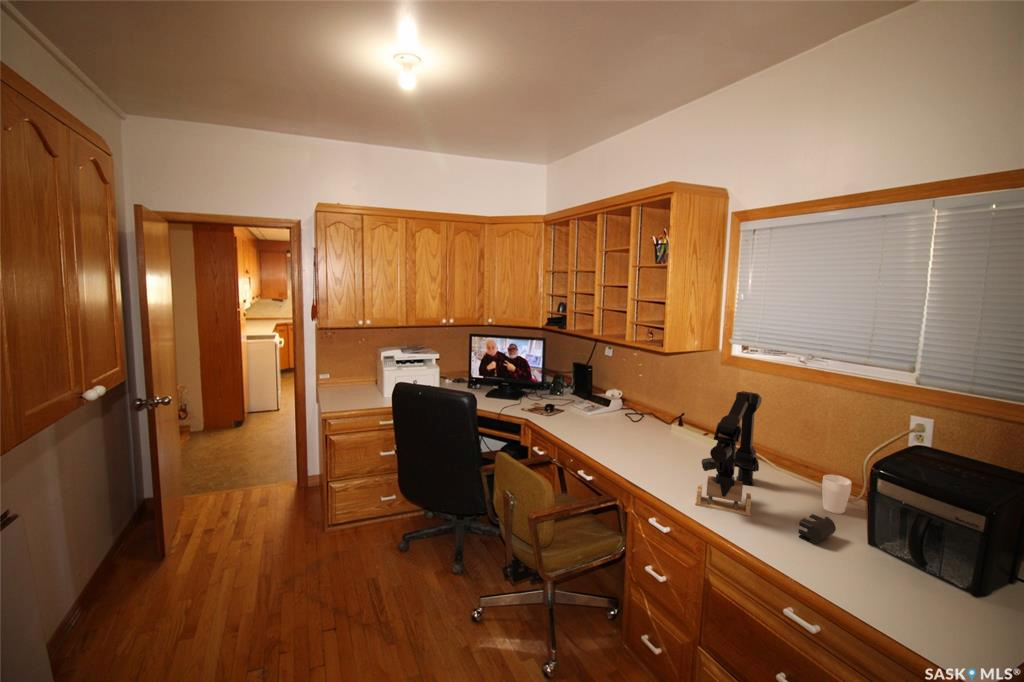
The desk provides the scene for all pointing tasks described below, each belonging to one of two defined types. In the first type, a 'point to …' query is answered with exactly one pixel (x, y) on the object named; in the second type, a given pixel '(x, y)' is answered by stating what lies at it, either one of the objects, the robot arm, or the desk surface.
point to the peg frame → (724, 503)
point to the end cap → (816, 529)
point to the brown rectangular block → (732, 494)
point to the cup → (835, 493)
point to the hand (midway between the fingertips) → (723, 493)
